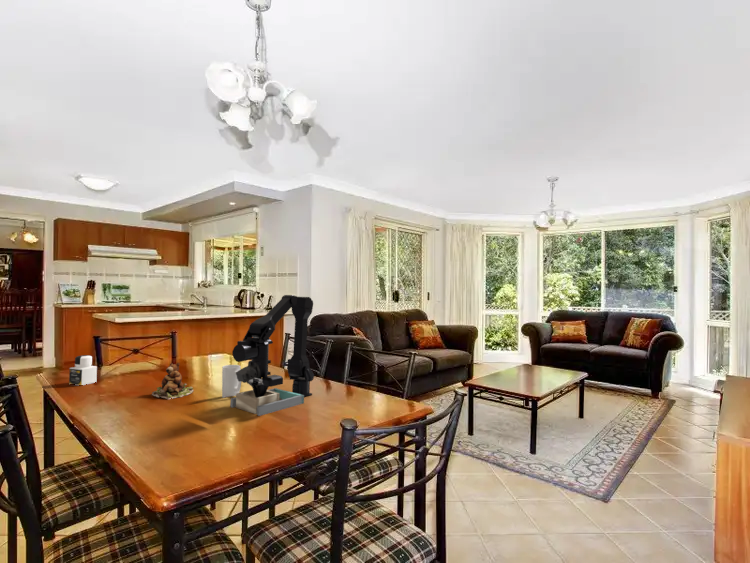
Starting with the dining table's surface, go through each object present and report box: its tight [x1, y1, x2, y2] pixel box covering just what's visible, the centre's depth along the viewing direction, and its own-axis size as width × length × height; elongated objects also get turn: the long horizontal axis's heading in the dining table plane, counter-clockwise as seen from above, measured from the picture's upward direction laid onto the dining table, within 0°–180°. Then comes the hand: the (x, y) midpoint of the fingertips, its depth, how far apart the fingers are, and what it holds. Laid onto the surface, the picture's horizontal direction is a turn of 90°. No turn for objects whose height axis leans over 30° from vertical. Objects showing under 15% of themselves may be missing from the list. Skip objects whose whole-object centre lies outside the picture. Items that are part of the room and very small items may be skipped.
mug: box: [221, 364, 242, 399], centre depth 162 cm, size 10×7×12 cm, turn 50°
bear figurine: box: [151, 362, 194, 400], centre depth 166 cm, size 14×15×12 cm
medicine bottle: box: [68, 354, 98, 386], centre depth 180 cm, size 7×7×12 cm
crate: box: [235, 389, 280, 415], centre depth 146 cm, size 10×11×5 cm
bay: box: [229, 387, 305, 417], centre depth 149 cm, size 20×16×4 cm
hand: (258, 402), depth 146 cm, fingers closed
